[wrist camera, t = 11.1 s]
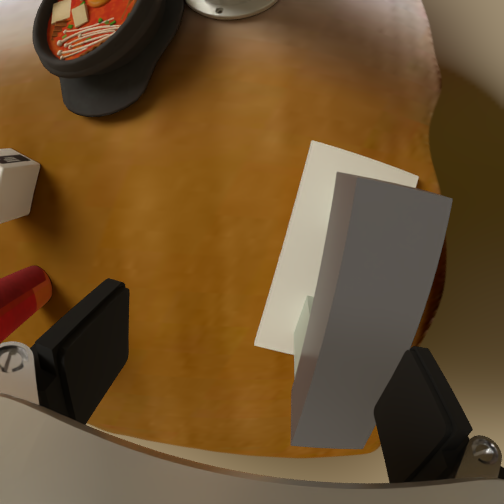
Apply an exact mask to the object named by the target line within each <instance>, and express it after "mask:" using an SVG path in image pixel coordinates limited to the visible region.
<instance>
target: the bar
mask: <svg viewBox="0 0 504 504" xmlns="http://www.w3.org/2000/svg"><path fill="white" fill-rule="evenodd" d="M452 200H453V199H452V198H448V197H445V196H442V195H438V194H435V193H431V192H428V191H424V190H421V189H417V188H414V187H410V186H405V185H401V184H397V183H392V182H387V181H383V180H378V179H373V178H368V177H363V176H358V175H353V174H348V173H342V172H337V173H336V180H335V186H334V193H333V199H332V205H331V211H330V217H329V222H328V228H327V234H326V239H325V244H324V250H323V255H322V260H321V265H320V270H319V275H318V280H317V285H316V290H315V295H314V299H313V304H312V308H311V313H310V317H309V322H308V326H307V331H306V335H305V339H304V343H303V348H302V352H301V356H300V360H299V364H298V368H297V372H296V376H295V380H294V383H293V387H292V395H291V446H303V447H317V448H338V449H363V447H364V445H365V444H366V442H367V440H368V438H369V436H370V434H371V432H372V431H373V429H374V427H375V425H376V422H375V418H374V407H375V405H376V403H377V401H378V400H379V398H380V396H381V395H382V393H383V391H384V389H385V388H386V386H387V384H388V382H389V381H390V379H391V377H392V375H393V373H394V372H395V370H396V368H397V366H398V364H399V362H400V360H401V358H402V356H403V354H404V353H405V351H406V350H409V349H410V347H411V345H412V342H413V339H414V337H415V334H416V331H417V329H418V326H419V323H420V320H421V317H422V314H423V311H424V308H425V305H426V302H427V299H428V296H429V293H430V290H431V286H432V283H433V280H434V276H435V273H436V269H437V265H438V262H439V258H440V254H441V250H442V246H443V242H444V238H445V234H446V229H447V224H448V219H449V215H450V210H451V205H452Z"/></svg>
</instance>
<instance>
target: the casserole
mask: <svg viewBox="0 0 504 504" xmlns="http://www.w3.org/2000/svg"><path fill="white" fill-rule="evenodd" d="M183 11H184V0H43V1H42V3H41V5H40V7H39V9H38V11H37V14H36V18H35V21H34V26H33V44H34V48H35V51H36V52H37V54H38V56H39V58H40V60H41V62H42V64H43V66H44V67H45V68H46V69H47V70H48V71H49V72H50V73H52V74H54V75H56V76H58V77H59V78H60V83H61V90H62V96H63V102H64V104H65V105H66V107H67V108H68V110H70V111H72V112H73V113H75V114H77V115H82V116H86V117H100V116H105V115H109V114H113V113H116V112H118V111H120V110H123V109H125V108H127V107H128V106H130V105H131V104H133V103H134V102H136V101H137V100H138V99H139V97H140V96H141V95H142V94H143V93H144V92H145V90H146V87H147V85H148V82H149V80H150V77H151V75H152V73H153V70H154V68H155V65H156V63H157V61H158V60H159V58H160V57H161V55H162V54H163V52H164V51H165V49H166V48H167V46H168V45H169V43H170V42H171V40H172V39H173V37H174V36H175V33H176V31H177V29H178V27H179V25H180V22H181V19H182V15H183Z"/></svg>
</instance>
